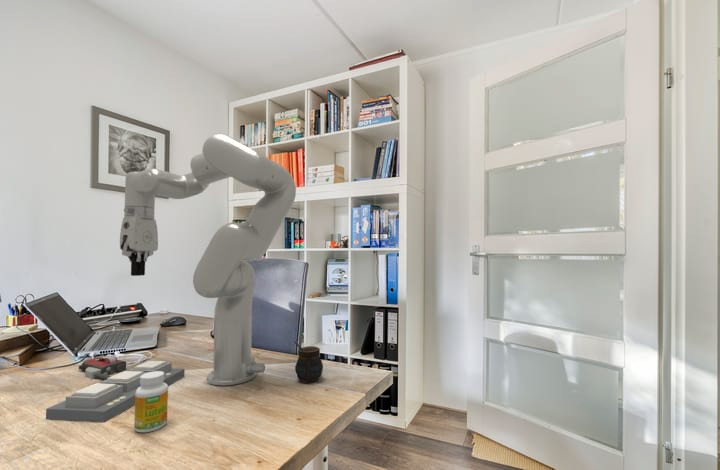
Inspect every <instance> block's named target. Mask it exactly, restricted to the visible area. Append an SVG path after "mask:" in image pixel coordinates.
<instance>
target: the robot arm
mask: <svg viewBox="0 0 720 470" xmlns="http://www.w3.org/2000/svg"><path fill="white" fill-rule="evenodd" d="M189 165H190V169H191V172H189V173H186V174H182V175H179V174H177V173H172V172H170V171H165V170H162V169H159V168H151V167H150V168H147V169H143V170H142V171H130V172H127V174H126V176H125V182H124V184H125V185H124V186H125V187H124V208H123V213H124V214H123V216H122V217H123V218H122V222H121V227H120V232H119V234H120V236H119V247H120V250H121V255H122V256H125V257H127V258H128V260H129V262H130V275H131V276H133V277H137V276H139V277H141V276H145V274H146V262H147V261H148V258H149V257H151V256H153V255H154V252H157V250H158V249H159V235H158V226H157V225H158V224H157V220H156V219H155V207H156V206H155V203H156V201H155V200H156V196H157V197H164V198H168V199H173V200H184V199H188V198H191V197H194V196H197V195H200V194H202V193H203V192H204V191H206V189H207V188H209V185H210V184H213V183H215V182H218V181H222V180H225V179H229V178H233V179H234V180H236V181H238V182H240V183H241V184H244V185H245V186H248V187H250V188H253V189H256V190H259V191H262V192H264V195H263V197H262V198H260V199H259V200H258V201H257V202H256V203H255V204H254V206H253V208H252V209H251V211H250V212H249V215H248V216H247V218H246V219H245V221H243V222H229V223H226V224H223V225H222V226H220V228H218V229H217V230H216V232H214V234H213V235H212V238H211V239H210V241H209V244H208V245H207V246H206V248H205V250H204V252H203V254H202V256H201V258H200V260H199V262H198V263H197V265H196V267H195V270H194V272H193V276H192V283H193V289H194V290H195V292H196V293H197V294H198V295H199V296H200V297H203V298H205V299H216V298H217V300H216V303H215V307H214V312H213V313H214V318H213V319H214V320H213V367H212V368H213V369H212V370H213V371H210V372H209V373H208V374H207V375H206V381H207V383H208V384H210V385H213V386H233V385H238V384H242V383H246V382H249V381H251V380H253V379H255V378H256V376H257V375H258V373H260V374H261V373H262V374H264V372H265V370H266V366H265V362H256V357H255V356H252V327H253V326H252V323H253V322H252V317H253V297H254V291H255V285H256V272H255V269H254V268H253V266H252V264H251V263H249V262H248V261H255V260H258V259H260V258H262V257H264V255H265V254H266V252H267V251H268V250H269V247H270V245H271V244H272V242H273V240H274V238H275V236H276V235H277V233H278V232H279V229H280V227H281V226H282V224H283V221H284V220H285V218H286V217H287V214H288V213H289V212H290V210H291V208H292V206H293V204H294V202H295V199H296V195H297V188H296V186H297V185H296V182H295V179H294V178H293V176H292V175H291V173H290V172H289V171H288V170H287V169H286V168H285V166H283V165H281V164H279V163H278V162H276V161H274V160H272V159H270V158H269V157H267V156H265V155H263V154H261V153H259V152H257V151H255V150H253V149H252V148H250V147H248V146H246V145H245V144H243V143H242V142H240V141H239V140H237V139H235V138H233V137H231V136H229V135H227V134H224V133H223V134H221V133H217V134H216V133H215V134H213V135H210V136H209V137H208V138H207V139H206V140H204V143H203V145H202V153H198V154H196V155H194V156H193V157H192V158H191V160H190V164H189Z"/></svg>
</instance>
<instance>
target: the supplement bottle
mask: <svg viewBox="0 0 720 470" xmlns="http://www.w3.org/2000/svg"><path fill="white" fill-rule="evenodd" d="M163 381H164V372H162V371H154V372H148V373H145V374H143V375H141V376H140V385H141V386H140V387H139V388H138V389H137V390H136V393H135V405H134V425H133V426H134V427H133V428H134V430H135V432H137V433H149V432H150V433H151V432H153V431H157V430H160V429H161V428H163V427H164V426H165V425H167V423H168V403H169V402H168V399H169V398H168V397H169V395H168V394H169V385H167V384H166V383H164V382H163Z"/></svg>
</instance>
